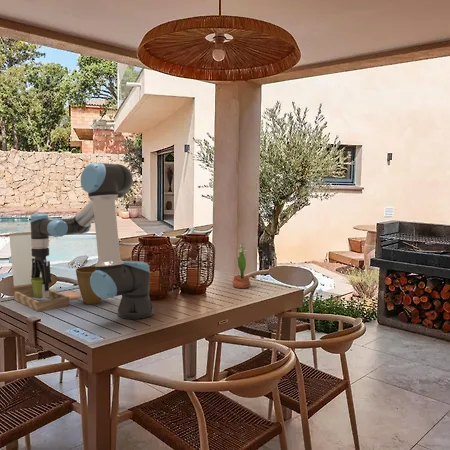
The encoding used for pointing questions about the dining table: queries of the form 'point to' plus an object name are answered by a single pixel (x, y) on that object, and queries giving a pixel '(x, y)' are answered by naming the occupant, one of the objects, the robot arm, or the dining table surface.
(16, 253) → the frame lid
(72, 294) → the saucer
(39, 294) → the plant pot
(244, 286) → the potted flower
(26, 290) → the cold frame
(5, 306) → the dining table surface
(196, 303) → the dining table surface
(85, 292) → the plant pot
